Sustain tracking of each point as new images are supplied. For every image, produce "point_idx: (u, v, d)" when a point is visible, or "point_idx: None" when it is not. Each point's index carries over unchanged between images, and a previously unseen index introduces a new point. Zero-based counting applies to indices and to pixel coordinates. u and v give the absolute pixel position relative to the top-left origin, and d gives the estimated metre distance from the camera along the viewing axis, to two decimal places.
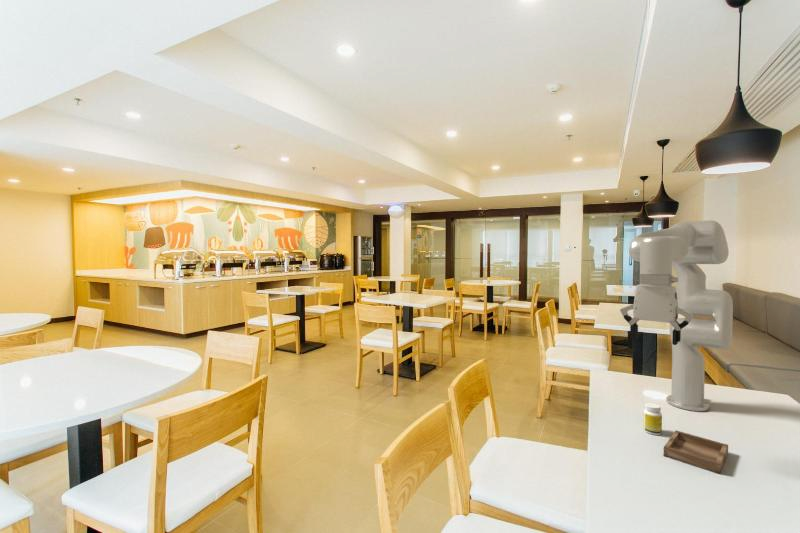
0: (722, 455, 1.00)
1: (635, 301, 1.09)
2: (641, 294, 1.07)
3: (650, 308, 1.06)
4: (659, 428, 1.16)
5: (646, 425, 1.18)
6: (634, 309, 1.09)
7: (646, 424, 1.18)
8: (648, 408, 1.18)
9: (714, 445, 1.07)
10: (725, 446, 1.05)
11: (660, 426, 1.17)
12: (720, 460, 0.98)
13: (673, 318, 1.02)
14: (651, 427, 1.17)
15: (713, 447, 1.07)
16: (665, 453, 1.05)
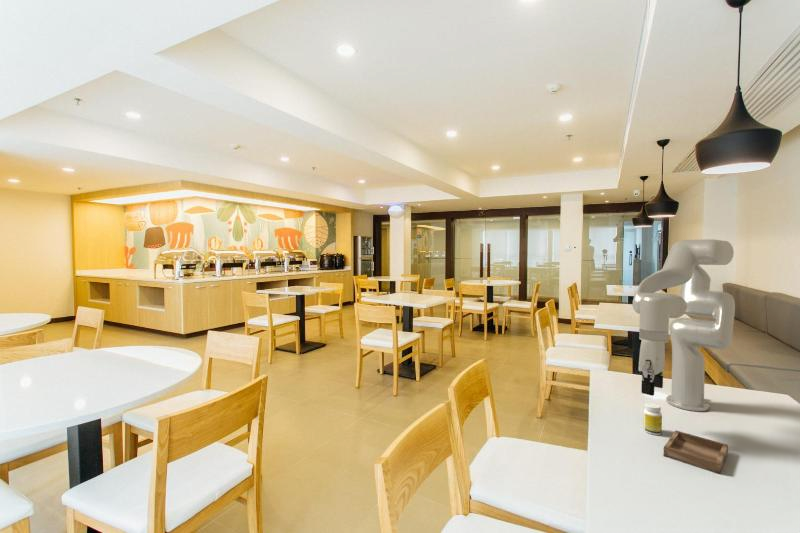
0: (722, 455, 1.00)
1: (657, 358, 1.13)
2: (659, 351, 1.14)
3: (661, 361, 1.16)
4: (659, 428, 1.16)
5: (646, 425, 1.18)
6: (656, 366, 1.13)
7: (646, 424, 1.18)
8: (648, 408, 1.18)
9: (714, 445, 1.07)
10: (725, 446, 1.05)
11: (660, 426, 1.17)
12: (720, 460, 0.98)
13: None
14: (651, 427, 1.17)
15: (713, 447, 1.07)
16: (665, 453, 1.05)
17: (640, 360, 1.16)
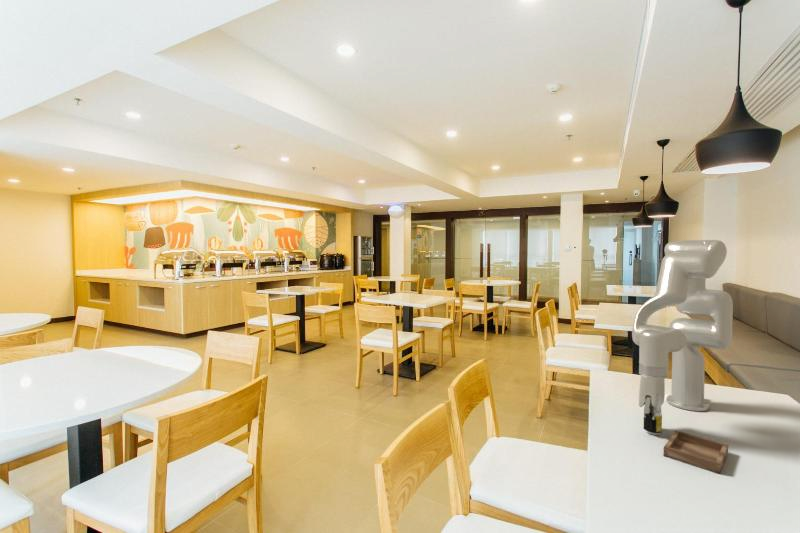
0: (722, 455, 1.00)
1: (656, 394, 1.14)
2: (659, 386, 1.15)
3: (660, 396, 1.16)
4: (659, 428, 1.16)
5: None
6: (656, 402, 1.14)
7: None
8: None
9: (714, 445, 1.07)
10: (725, 446, 1.05)
11: (660, 426, 1.17)
12: (720, 460, 0.98)
13: None
14: None
15: (713, 447, 1.07)
16: (665, 453, 1.05)
17: (640, 395, 1.17)
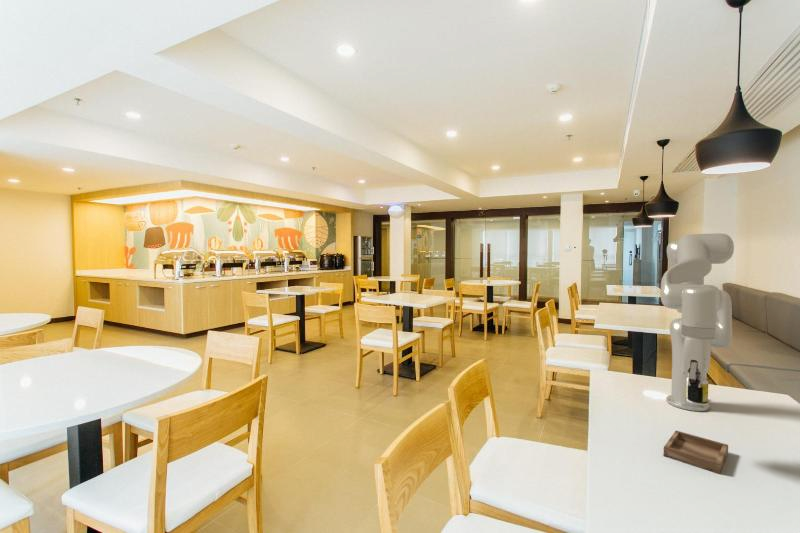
0: (722, 455, 1.00)
1: (704, 358, 1.00)
2: (706, 350, 1.00)
3: (707, 361, 1.02)
4: (705, 398, 1.02)
5: None
6: (703, 367, 1.00)
7: None
8: None
9: (714, 445, 1.07)
10: (725, 446, 1.05)
11: (706, 395, 1.03)
12: (720, 460, 0.98)
13: None
14: None
15: (713, 447, 1.07)
16: (665, 453, 1.05)
17: (684, 360, 1.02)
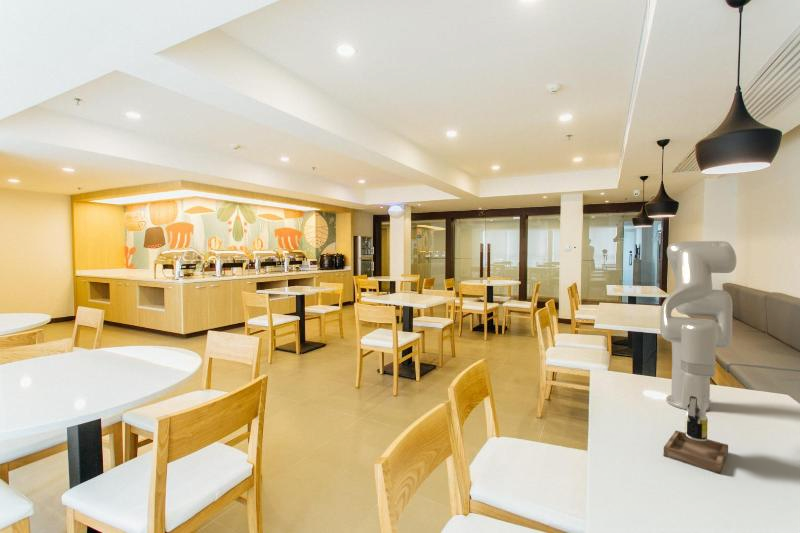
0: (722, 455, 1.00)
1: (703, 395, 1.00)
2: (706, 386, 1.01)
3: None
4: (705, 433, 1.03)
5: None
6: (702, 404, 1.00)
7: None
8: None
9: (714, 445, 1.07)
10: (725, 446, 1.05)
11: (706, 431, 1.03)
12: (720, 460, 0.98)
13: None
14: None
15: (713, 447, 1.07)
16: (665, 453, 1.05)
17: (683, 396, 1.03)
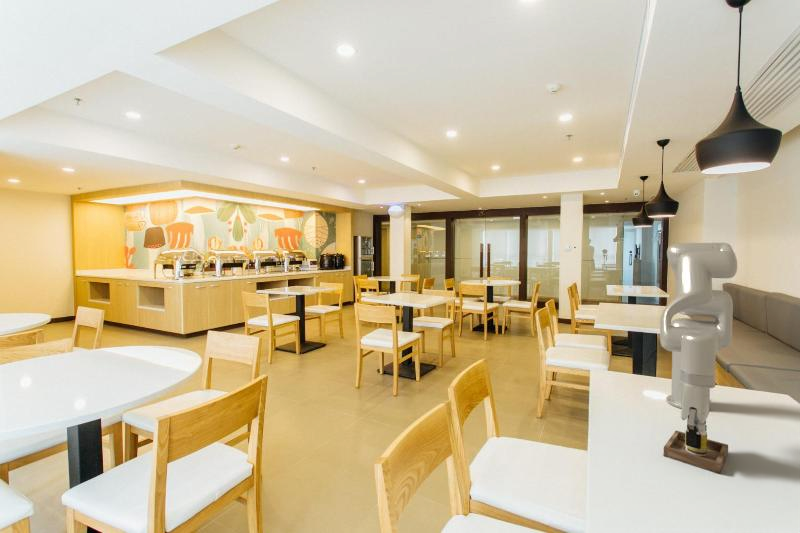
0: (722, 455, 1.00)
1: (703, 406, 1.00)
2: (705, 397, 1.01)
3: (706, 408, 1.03)
4: (704, 448, 1.03)
5: None
6: (702, 415, 1.00)
7: None
8: None
9: (714, 445, 1.07)
10: (725, 446, 1.05)
11: (705, 446, 1.03)
12: (720, 460, 0.98)
13: None
14: None
15: (713, 447, 1.07)
16: (665, 453, 1.05)
17: (683, 407, 1.03)
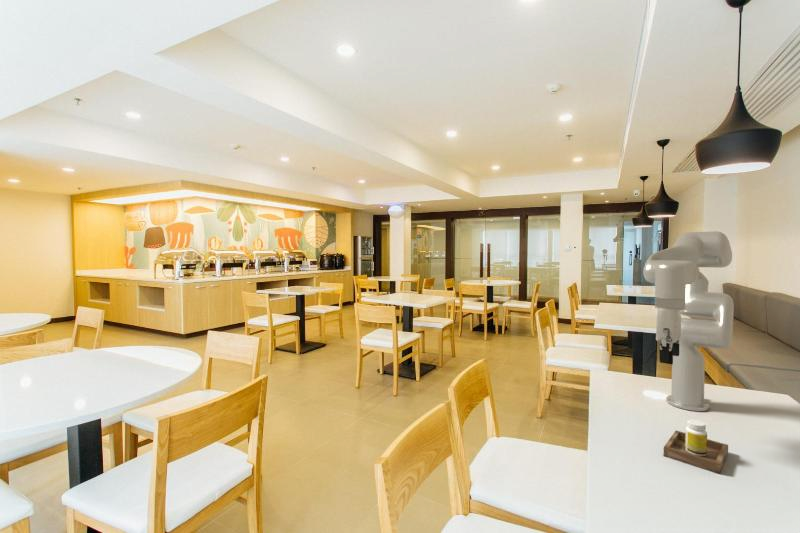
0: (722, 455, 1.00)
1: (675, 326, 1.11)
2: (677, 318, 1.11)
3: (678, 329, 1.13)
4: (704, 448, 1.03)
5: (689, 444, 1.05)
6: (674, 334, 1.11)
7: (688, 444, 1.05)
8: (691, 426, 1.04)
9: (714, 445, 1.07)
10: (725, 446, 1.05)
11: (705, 446, 1.03)
12: (720, 460, 0.98)
13: None
14: (694, 447, 1.04)
15: (713, 447, 1.07)
16: (665, 453, 1.05)
17: (657, 329, 1.13)
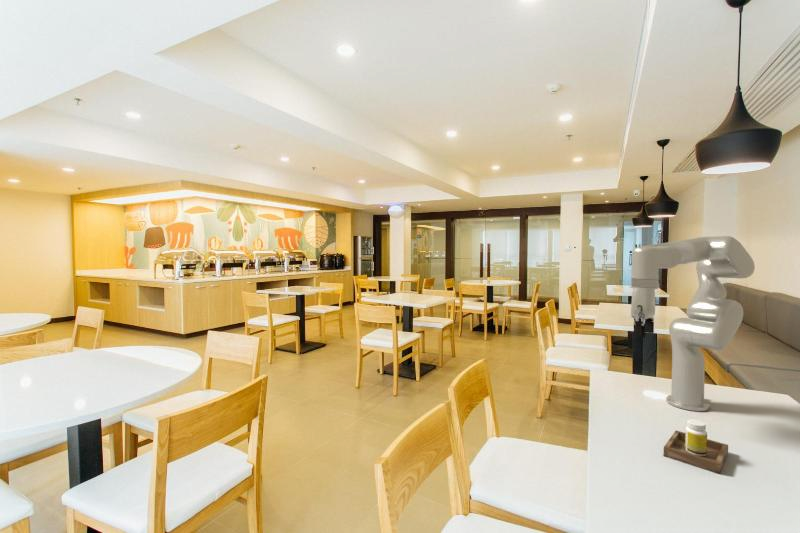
0: (722, 455, 1.00)
1: (647, 303, 1.23)
2: (649, 296, 1.23)
3: (651, 307, 1.25)
4: (704, 448, 1.03)
5: (689, 444, 1.05)
6: (646, 311, 1.23)
7: (688, 444, 1.05)
8: (691, 426, 1.04)
9: (714, 445, 1.07)
10: (725, 446, 1.05)
11: (705, 446, 1.03)
12: (720, 460, 0.98)
13: None
14: (694, 447, 1.04)
15: (713, 447, 1.07)
16: (665, 453, 1.05)
17: (632, 306, 1.25)
